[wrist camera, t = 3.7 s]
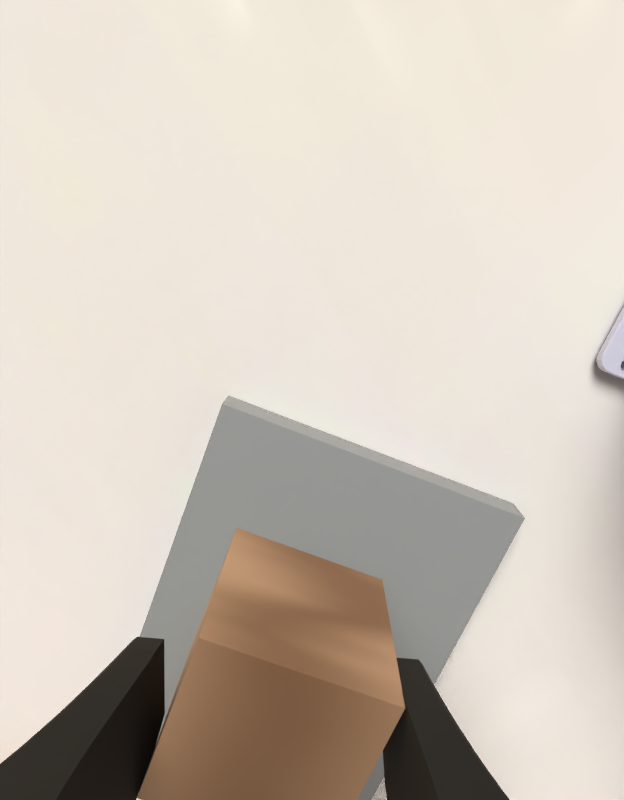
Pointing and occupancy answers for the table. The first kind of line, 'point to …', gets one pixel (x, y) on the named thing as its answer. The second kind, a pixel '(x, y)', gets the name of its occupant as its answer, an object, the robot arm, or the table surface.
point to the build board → (333, 533)
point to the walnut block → (281, 683)
